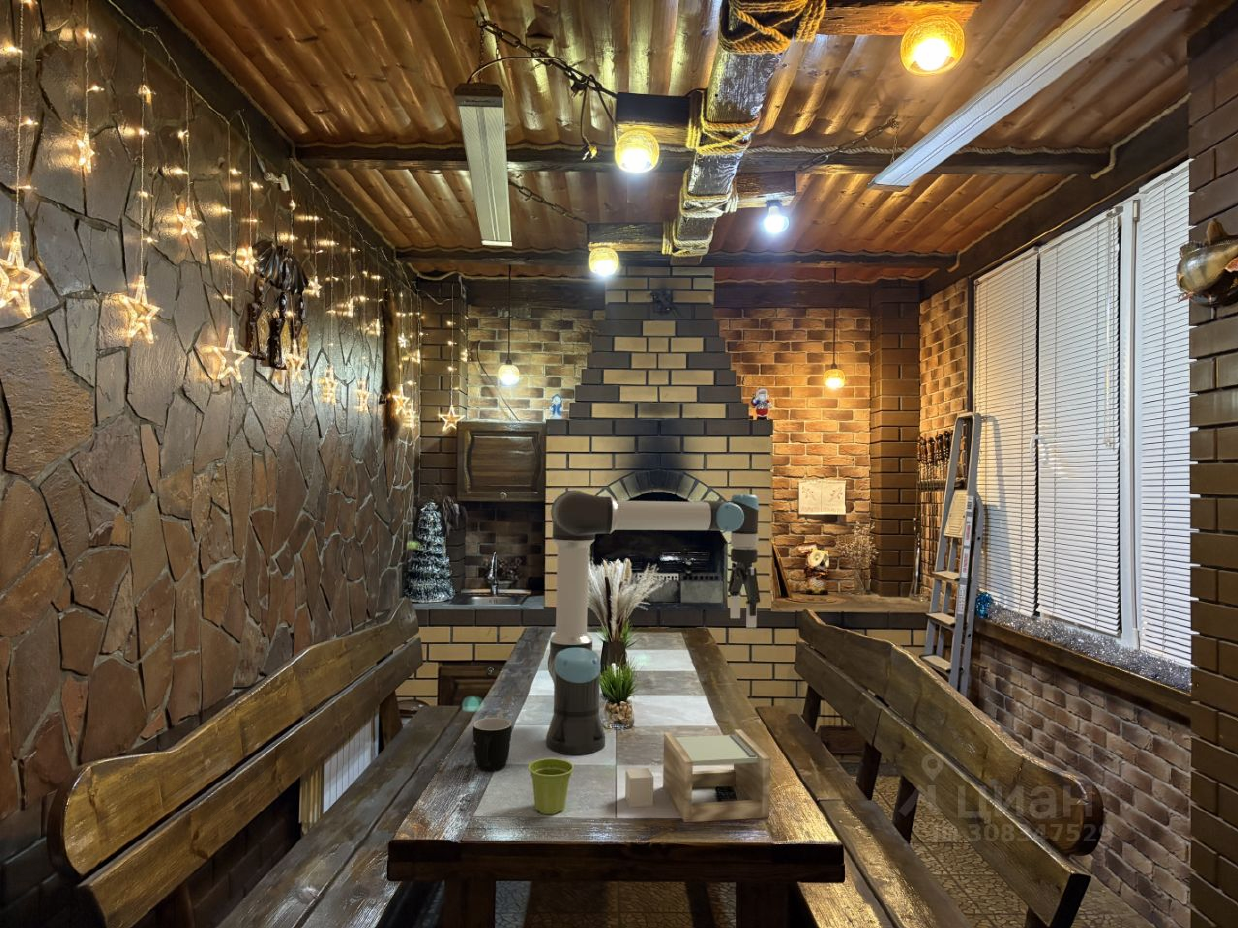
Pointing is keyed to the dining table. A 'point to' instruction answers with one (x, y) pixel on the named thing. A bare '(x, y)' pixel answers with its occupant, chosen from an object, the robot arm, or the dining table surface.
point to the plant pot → (550, 783)
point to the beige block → (639, 787)
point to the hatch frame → (716, 784)
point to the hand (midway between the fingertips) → (742, 622)
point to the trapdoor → (716, 750)
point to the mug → (491, 743)
